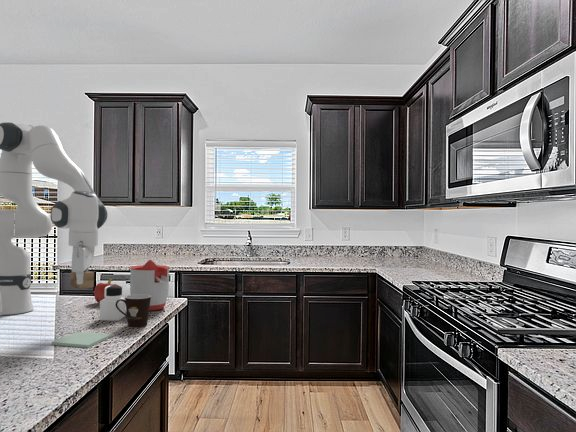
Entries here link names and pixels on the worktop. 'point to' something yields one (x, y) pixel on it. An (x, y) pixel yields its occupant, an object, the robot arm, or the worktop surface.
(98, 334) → the plate
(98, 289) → the vegetable
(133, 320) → the coffee mug
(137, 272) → the citrus juicer
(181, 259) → the worktop surface
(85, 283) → the walnut cube
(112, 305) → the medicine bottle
